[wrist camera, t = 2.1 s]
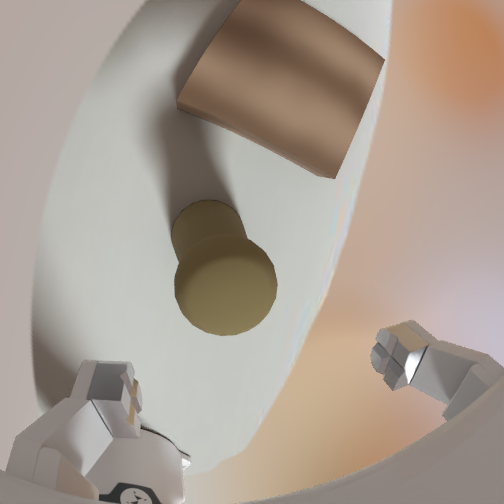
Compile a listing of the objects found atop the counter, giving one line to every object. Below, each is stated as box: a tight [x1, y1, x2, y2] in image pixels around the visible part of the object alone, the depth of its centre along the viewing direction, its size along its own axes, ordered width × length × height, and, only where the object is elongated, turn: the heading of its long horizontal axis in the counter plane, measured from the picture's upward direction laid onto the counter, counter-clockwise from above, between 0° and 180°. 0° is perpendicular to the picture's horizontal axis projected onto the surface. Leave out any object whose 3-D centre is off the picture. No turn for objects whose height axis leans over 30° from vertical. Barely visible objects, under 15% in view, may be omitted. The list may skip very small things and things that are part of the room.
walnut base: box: [177, 0, 385, 179], centre depth 18 cm, size 13×13×3 cm
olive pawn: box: [172, 200, 278, 336], centre depth 17 cm, size 6×6×11 cm
